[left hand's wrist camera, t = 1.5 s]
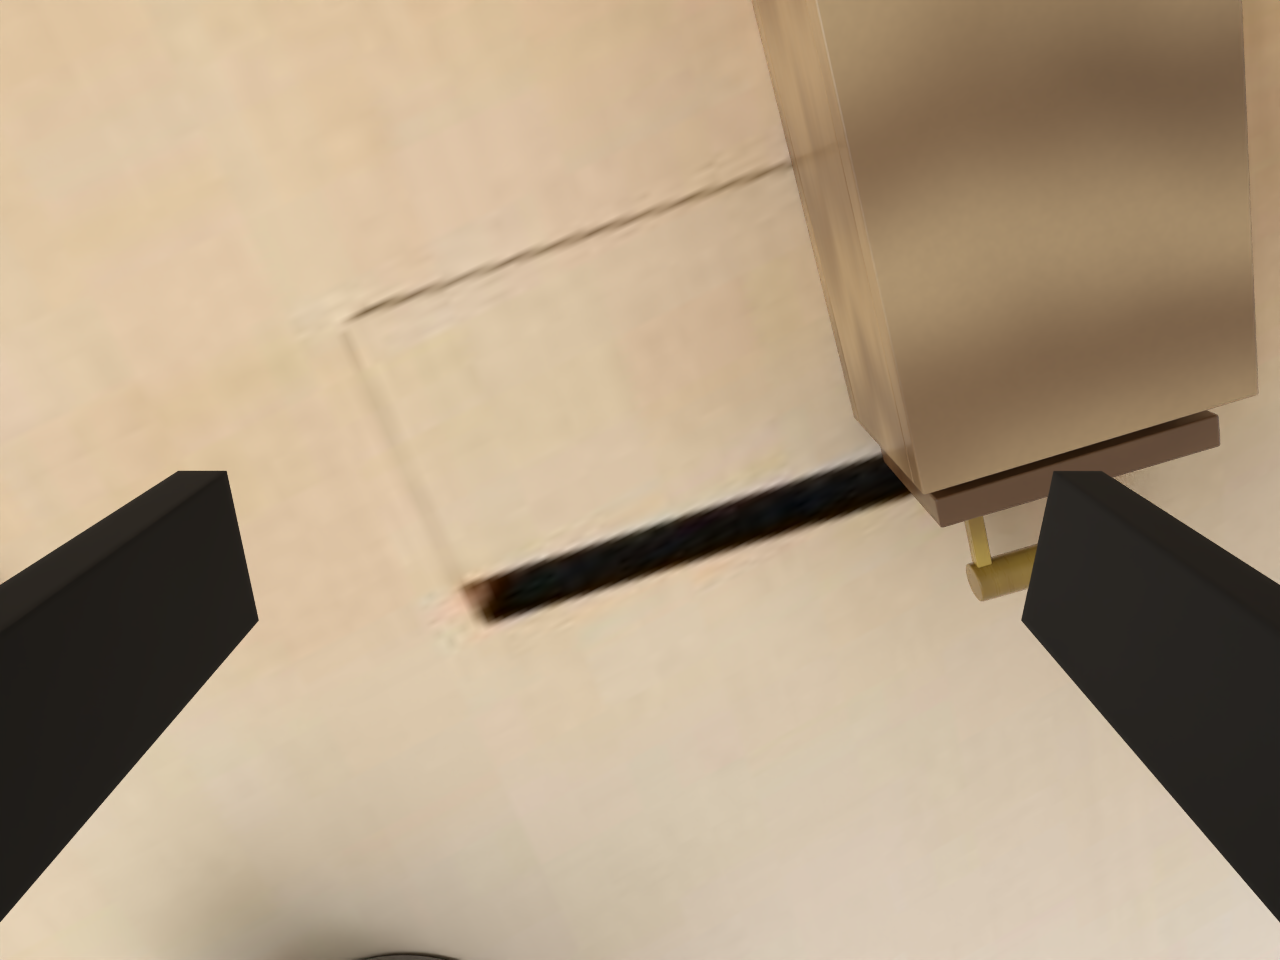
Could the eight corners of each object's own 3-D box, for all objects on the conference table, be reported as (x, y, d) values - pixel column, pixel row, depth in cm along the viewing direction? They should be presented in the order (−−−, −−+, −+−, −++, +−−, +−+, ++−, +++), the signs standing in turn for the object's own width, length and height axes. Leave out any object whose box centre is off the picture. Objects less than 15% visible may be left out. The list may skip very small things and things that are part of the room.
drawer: (1121, 515, 35) (1230, 592, 28) (910, 576, 36) (970, 663, 29) (1045, -132, 26) (1179, -232, 19) (768, -24, 27) (809, -86, 21)
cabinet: (1102, 340, 33) (1259, 395, 24) (854, 418, 34) (923, 495, 26) (1035, -241, 26) (1224, -440, 17) (723, -114, 27) (760, -244, 19)
